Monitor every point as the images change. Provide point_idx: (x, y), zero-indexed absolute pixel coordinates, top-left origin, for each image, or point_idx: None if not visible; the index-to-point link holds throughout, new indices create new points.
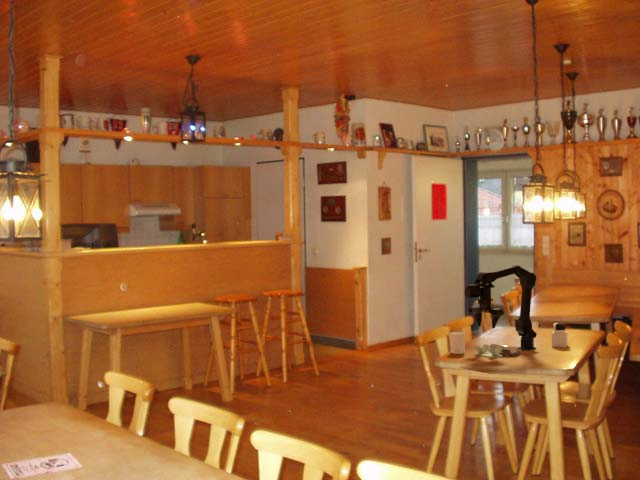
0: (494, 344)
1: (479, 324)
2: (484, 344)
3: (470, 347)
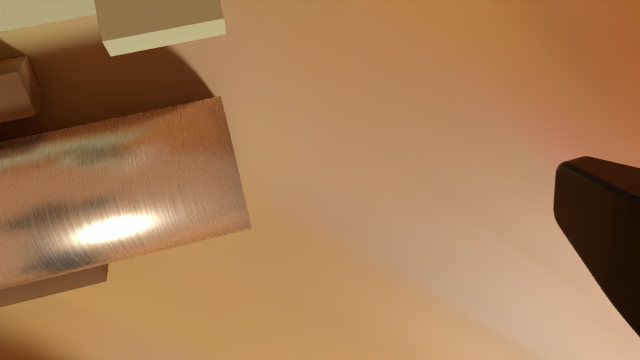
0: (161, 185)
1: (607, 221)
2: (213, 14)
3: (613, 53)
